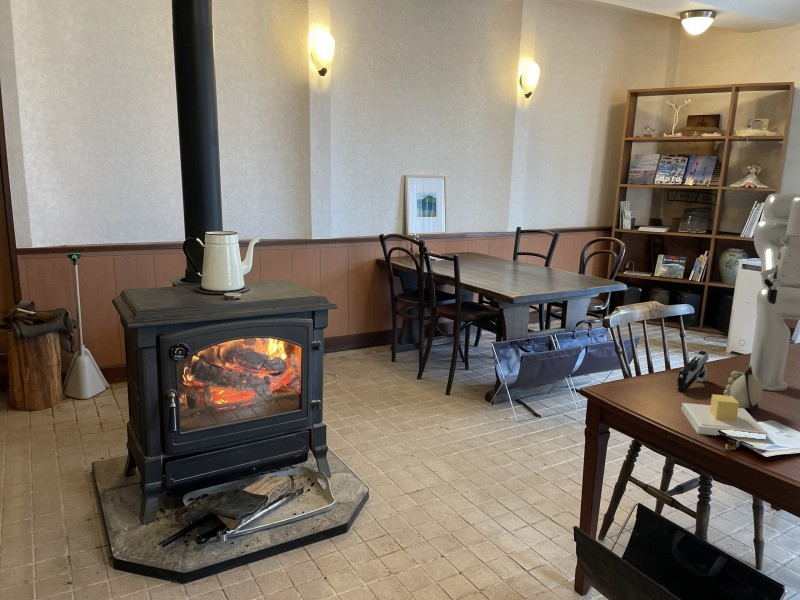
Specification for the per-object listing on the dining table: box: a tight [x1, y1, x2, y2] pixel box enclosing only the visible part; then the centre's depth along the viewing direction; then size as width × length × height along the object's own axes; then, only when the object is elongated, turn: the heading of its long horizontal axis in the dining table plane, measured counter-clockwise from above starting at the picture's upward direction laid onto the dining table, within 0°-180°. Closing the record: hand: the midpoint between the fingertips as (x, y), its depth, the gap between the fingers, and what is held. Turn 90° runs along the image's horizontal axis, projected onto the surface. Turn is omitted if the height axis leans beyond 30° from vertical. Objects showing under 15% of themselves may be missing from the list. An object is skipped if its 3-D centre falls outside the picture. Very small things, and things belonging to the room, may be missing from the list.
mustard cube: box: [710, 393, 739, 421], centre depth 158 cm, size 5×5×5 cm
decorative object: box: [723, 366, 764, 417], centre depth 169 cm, size 12×10×10 cm
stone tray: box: [681, 402, 768, 436], centre depth 159 cm, size 16×16×2 cm
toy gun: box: [677, 349, 709, 393], centre depth 187 cm, size 2×18×11 cm, turn 133°
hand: (790, 304), depth 166 cm, fingers open, 9 cm apart
